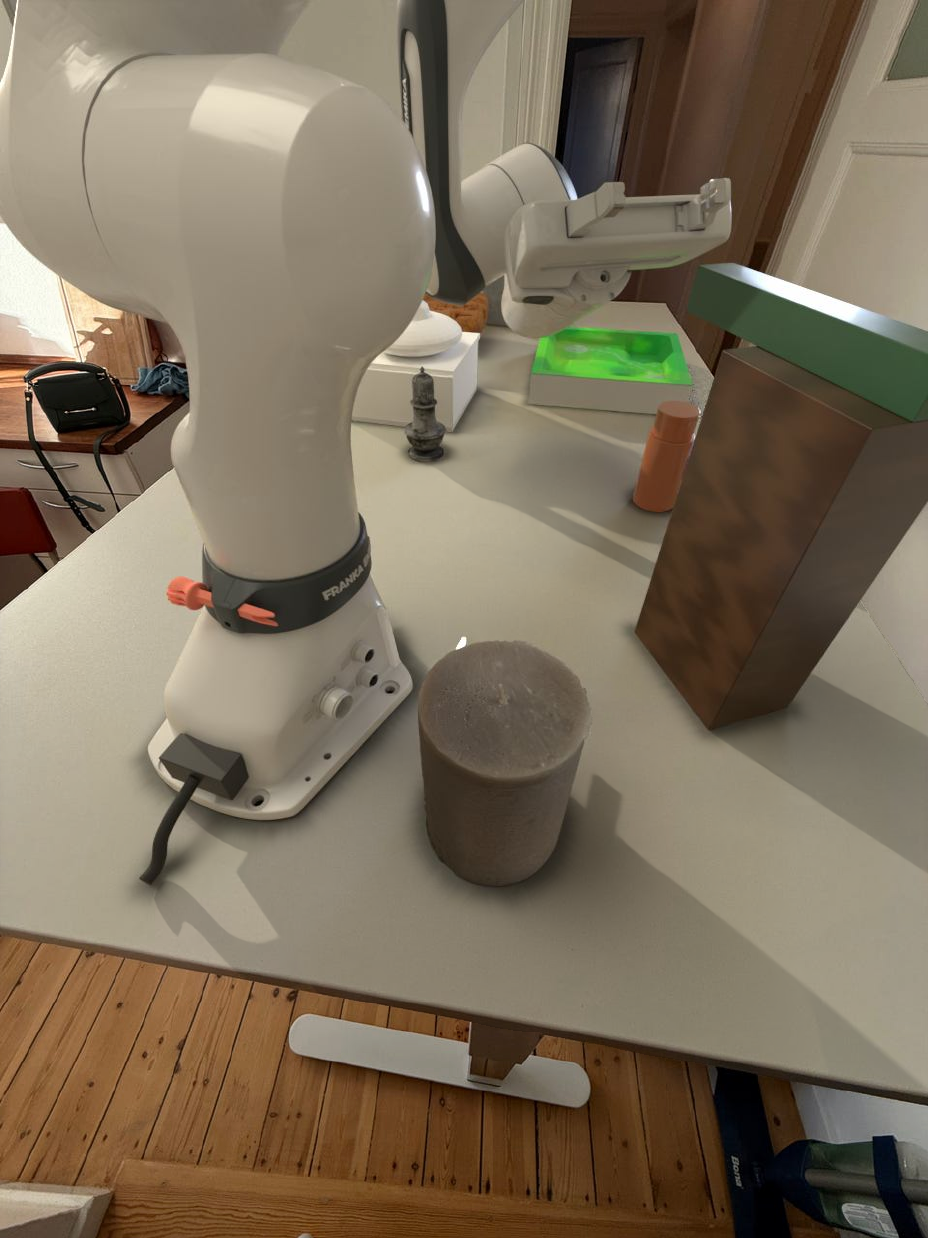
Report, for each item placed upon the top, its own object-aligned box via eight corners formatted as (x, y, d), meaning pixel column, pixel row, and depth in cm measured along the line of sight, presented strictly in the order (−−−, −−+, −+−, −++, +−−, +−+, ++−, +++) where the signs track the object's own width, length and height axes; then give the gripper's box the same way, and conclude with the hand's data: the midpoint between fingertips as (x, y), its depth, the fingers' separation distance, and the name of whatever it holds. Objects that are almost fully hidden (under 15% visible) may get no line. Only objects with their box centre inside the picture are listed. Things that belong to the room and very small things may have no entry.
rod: (685, 311, 42) (697, 264, 40) (719, 307, 42) (732, 262, 40) (912, 422, 28) (948, 361, 26) (956, 415, 29) (996, 354, 27)
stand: (633, 632, 54) (722, 349, 36) (704, 615, 56) (822, 337, 38) (708, 731, 46) (872, 428, 28) (788, 707, 47) (991, 409, 29)
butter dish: (345, 419, 87) (328, 307, 76) (383, 377, 100) (374, 276, 89) (452, 432, 84) (452, 317, 73) (478, 387, 97) (481, 284, 86)
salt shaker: (441, 464, 77) (439, 376, 69) (400, 460, 78) (393, 372, 70) (450, 445, 81) (449, 360, 73) (411, 441, 82) (406, 356, 74)
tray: (528, 403, 92) (531, 372, 89) (540, 352, 110) (543, 324, 106) (683, 416, 89) (692, 384, 86) (670, 361, 107) (677, 333, 103)
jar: (676, 513, 69) (706, 420, 60) (633, 510, 69) (657, 416, 61) (671, 492, 72) (699, 401, 64) (631, 488, 73) (653, 397, 65)
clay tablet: (417, 322, 123) (415, 281, 118) (493, 327, 121) (494, 285, 115) (389, 356, 108) (385, 311, 102) (476, 363, 105) (477, 317, 100)
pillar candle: (411, 872, 37) (392, 748, 27) (441, 749, 44) (436, 612, 34) (556, 900, 36) (596, 782, 26) (564, 769, 43) (598, 634, 33)
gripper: (677, 288, 59) (782, 230, 46) (496, 303, 54) (556, 244, 41) (674, 220, 57) (782, 140, 44) (487, 230, 53) (547, 144, 40)
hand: (671, 190), depth 43 cm, fingers open, 8 cm apart
